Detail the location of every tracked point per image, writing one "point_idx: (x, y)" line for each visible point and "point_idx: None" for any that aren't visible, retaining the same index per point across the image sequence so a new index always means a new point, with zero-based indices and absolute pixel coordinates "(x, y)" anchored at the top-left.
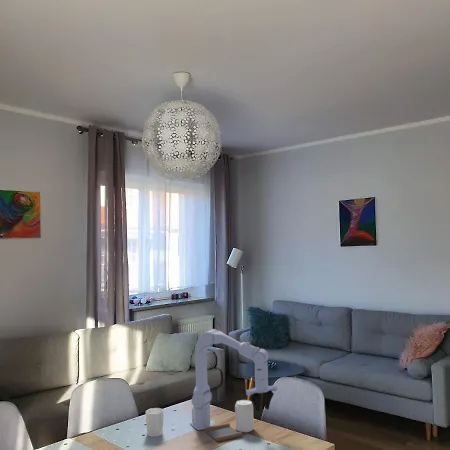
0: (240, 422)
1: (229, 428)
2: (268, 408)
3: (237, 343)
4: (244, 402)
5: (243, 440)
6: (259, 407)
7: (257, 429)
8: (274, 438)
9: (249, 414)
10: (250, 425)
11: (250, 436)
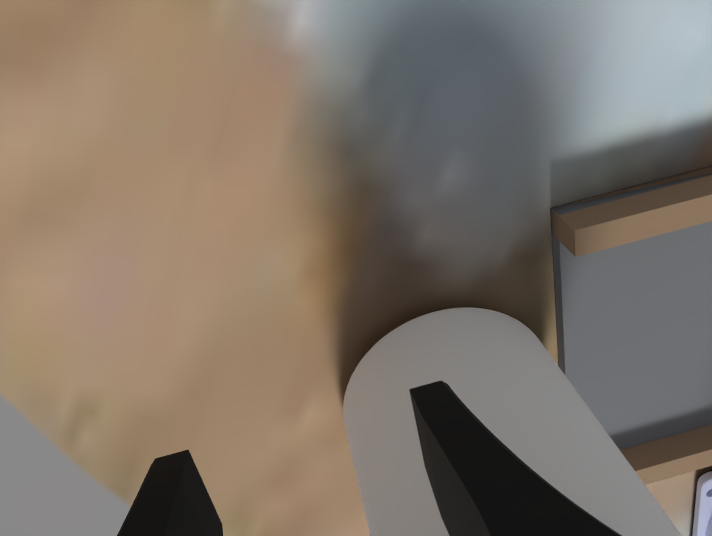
0: (574, 390)
1: (597, 416)
2: (157, 469)
3: None
4: None
5: (585, 91)
6: (444, 434)
7: (298, 373)
8: (146, 38)
9: None
10: (427, 358)
11: (453, 194)
